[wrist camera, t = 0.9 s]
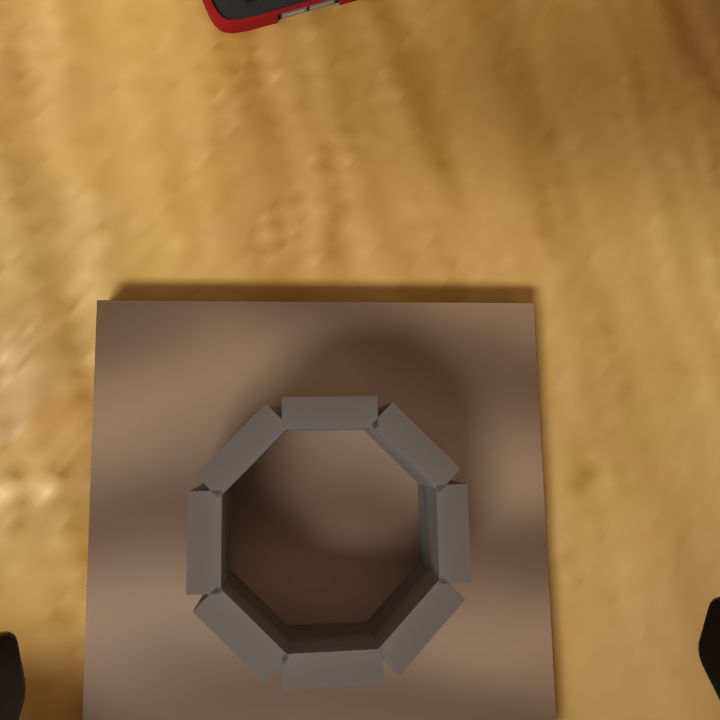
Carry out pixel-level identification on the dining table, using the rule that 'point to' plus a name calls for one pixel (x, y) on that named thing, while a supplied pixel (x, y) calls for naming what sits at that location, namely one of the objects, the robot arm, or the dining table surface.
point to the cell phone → (257, 12)
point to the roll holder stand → (317, 513)
